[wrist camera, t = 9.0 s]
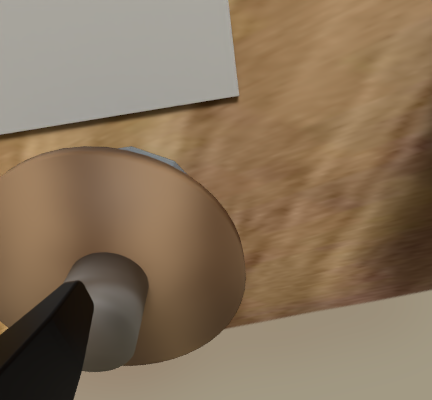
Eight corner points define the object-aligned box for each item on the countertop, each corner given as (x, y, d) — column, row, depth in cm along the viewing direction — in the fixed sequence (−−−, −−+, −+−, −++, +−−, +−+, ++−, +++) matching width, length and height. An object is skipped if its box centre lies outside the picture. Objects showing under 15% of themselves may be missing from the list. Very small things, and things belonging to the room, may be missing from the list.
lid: (223, 122, 13) (229, 165, 10) (255, 336, 20) (267, 412, 17) (-88, 173, 14) (-199, 232, 10) (45, 362, 21) (8, 440, 17)
